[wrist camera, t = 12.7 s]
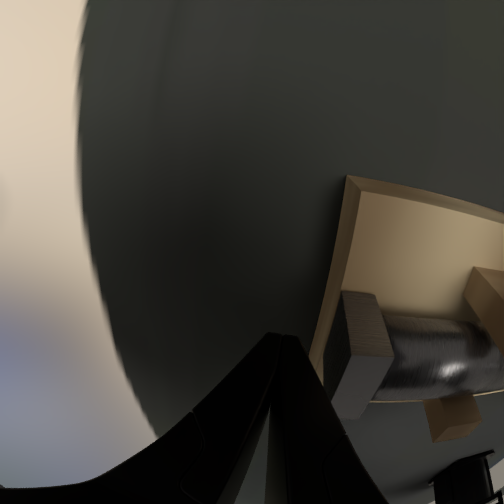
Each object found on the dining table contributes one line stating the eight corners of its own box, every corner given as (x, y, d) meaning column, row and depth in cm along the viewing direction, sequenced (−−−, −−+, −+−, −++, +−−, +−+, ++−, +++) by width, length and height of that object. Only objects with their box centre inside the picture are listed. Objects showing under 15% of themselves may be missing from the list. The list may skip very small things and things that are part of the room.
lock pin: (511, 307, 7) (543, 350, 4) (482, 358, 8) (504, 404, 5) (341, 290, 7) (351, 355, 5) (323, 354, 9) (322, 417, 6)
